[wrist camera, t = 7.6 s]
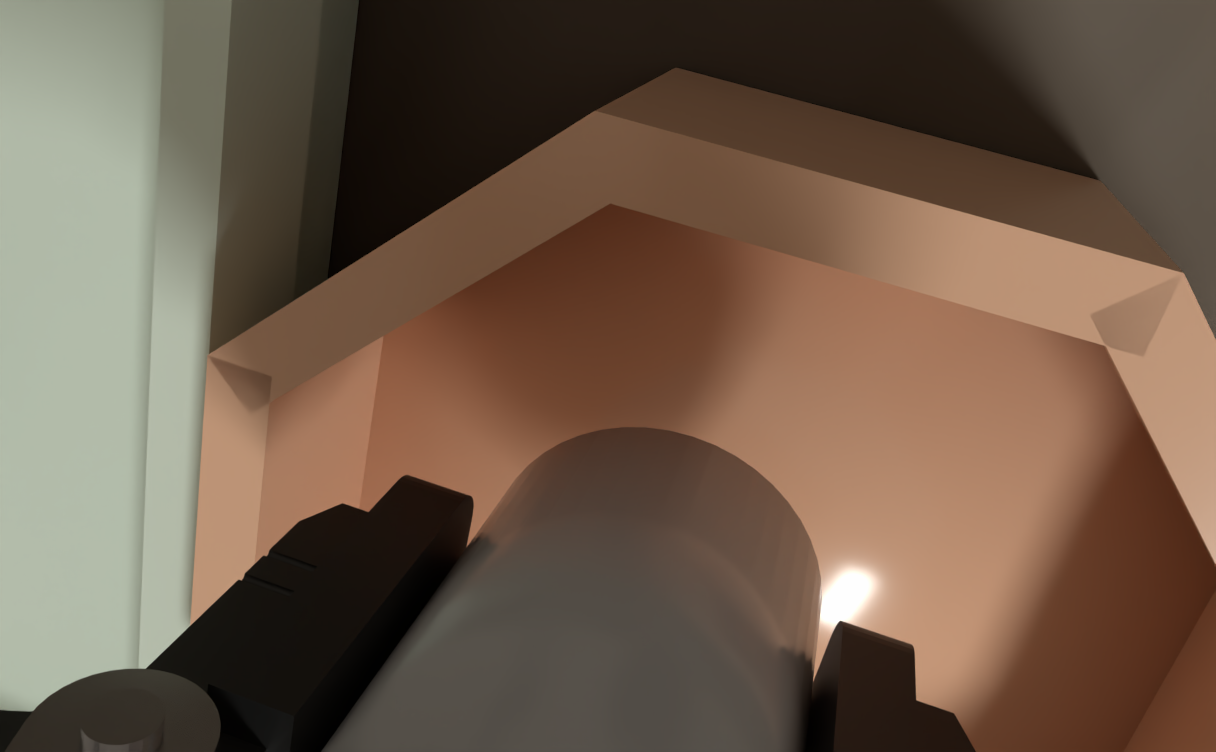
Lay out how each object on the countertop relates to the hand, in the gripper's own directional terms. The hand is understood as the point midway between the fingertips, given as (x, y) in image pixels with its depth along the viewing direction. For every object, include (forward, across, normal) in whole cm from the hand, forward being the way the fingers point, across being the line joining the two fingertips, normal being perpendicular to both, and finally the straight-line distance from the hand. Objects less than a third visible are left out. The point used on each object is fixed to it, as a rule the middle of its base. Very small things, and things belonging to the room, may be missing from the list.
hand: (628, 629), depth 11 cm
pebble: (+1, 0, 0) cm, 1 cm away
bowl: (+5, -1, +2) cm, 5 cm away
